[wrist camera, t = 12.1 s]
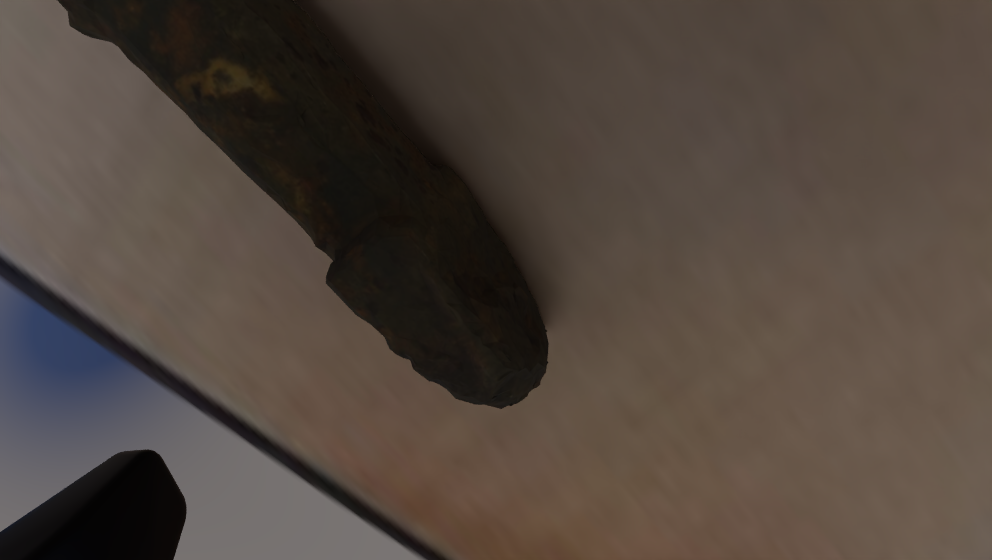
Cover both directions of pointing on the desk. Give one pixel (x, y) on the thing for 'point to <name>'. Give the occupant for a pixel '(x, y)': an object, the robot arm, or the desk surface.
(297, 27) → the hand tool
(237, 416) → the desk surface
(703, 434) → the desk surface
